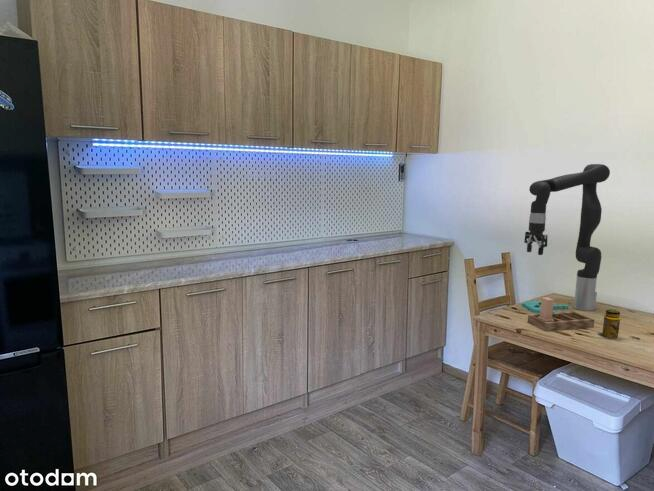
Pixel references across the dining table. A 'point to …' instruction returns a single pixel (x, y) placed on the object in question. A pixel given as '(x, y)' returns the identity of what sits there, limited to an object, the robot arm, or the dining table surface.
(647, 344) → the dining table surface
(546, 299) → the tan piece
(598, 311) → the dining table surface
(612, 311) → the condiment
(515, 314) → the dining table surface
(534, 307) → the alien figure
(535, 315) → the rack
